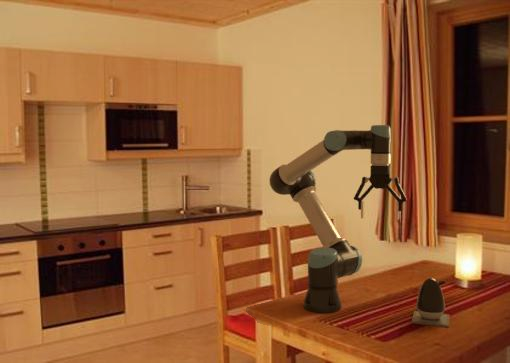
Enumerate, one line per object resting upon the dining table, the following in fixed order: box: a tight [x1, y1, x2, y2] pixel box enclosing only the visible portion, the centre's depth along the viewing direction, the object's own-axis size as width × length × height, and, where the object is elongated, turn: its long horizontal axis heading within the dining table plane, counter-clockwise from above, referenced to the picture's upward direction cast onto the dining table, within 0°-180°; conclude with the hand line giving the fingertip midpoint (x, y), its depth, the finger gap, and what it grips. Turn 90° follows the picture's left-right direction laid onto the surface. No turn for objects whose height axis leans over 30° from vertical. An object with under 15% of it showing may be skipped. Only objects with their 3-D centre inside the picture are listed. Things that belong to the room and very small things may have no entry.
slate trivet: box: [411, 310, 450, 328], centre depth 205 cm, size 13×13×1 cm
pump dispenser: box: [416, 277, 447, 320], centre depth 204 cm, size 10×10×15 cm
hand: (379, 218), depth 214 cm, fingers open, 13 cm apart
